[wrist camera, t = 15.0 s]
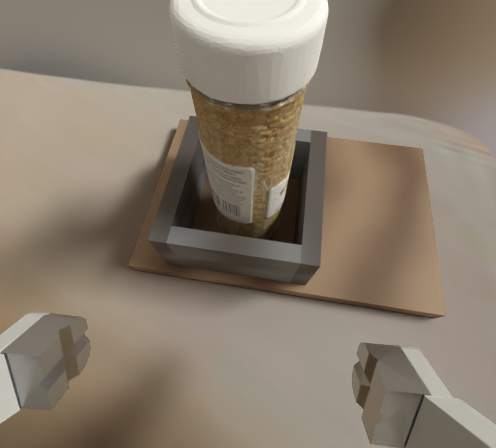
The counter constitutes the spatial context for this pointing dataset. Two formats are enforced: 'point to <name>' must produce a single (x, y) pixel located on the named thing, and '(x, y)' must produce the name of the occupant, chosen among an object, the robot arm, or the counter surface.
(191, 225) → the socket block
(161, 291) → the counter surface
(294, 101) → the sprinkles bottle
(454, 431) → the robot arm
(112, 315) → the counter surface
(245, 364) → the counter surface
